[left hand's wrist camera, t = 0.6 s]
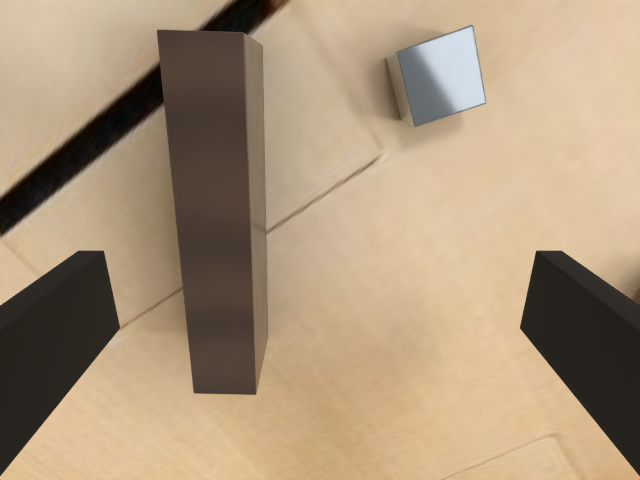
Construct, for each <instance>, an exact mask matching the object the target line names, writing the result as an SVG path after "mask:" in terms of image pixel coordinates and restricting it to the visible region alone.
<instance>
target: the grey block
mask: <svg viewBox="0 0 640 480" xmlns="http://www.w3.org/2000/svg"><path fill="white" fill-rule="evenodd" d="M385 58H386V62H387V66H388V70H389V74H390V78H391V82H392V86H393V90H394V94H395V98H396V102H397V106H398V110H399V114H400V118H401V121H403V122H405V123H407V124H409V125H412V126H414V127H417V126H420V125H423V124H426V123H429V122H432V121H435V120H438V119H441V118H444V117H447V116H450V115H453V114H456V113H459V112H462V111H465V110H468V109H471V108H474V107H477V106H480V105H483V104H486V98H485V92H484V87H483V81H482V75H481V69H480V63H479V58H478V52H477V46H476V40H475V35H474V29H473V25H470V26H467V27H465V28H462V29H459V30H456V31H453V32H451V33H448V34H445V35H442V36H439V37H436V38H434V39H431V40H428V41H425V42H422V43H420V44H417V45H414V46H411V47H408V48H405V49H403V50H400V51H397V52H395V53H392V54H390V55H388V56H386V57H385Z"/></svg>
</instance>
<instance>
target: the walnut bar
mask: <svg viewBox="0 0 640 480" xmlns="http://www.w3.org/2000/svg"><path fill="white" fill-rule="evenodd" d="M157 36H158V46H159V56H160V66H161V76H162V86H163V95H164V105H165V115H166V125H167V135H168V145H169V154H170V164H171V174H172V184H173V194H174V204H175V213H176V223H177V233H178V243H179V253H180V262H181V272H182V282H183V292H184V302H185V312H186V321H187V331H188V341H189V351H190V361H191V371H192V380H193V390H194V393H202V394H245V395H256V393H257V388H258V383H259V378H260V373H261V368H262V363H263V358H264V354H265V349H266V344H267V339H268V314H267V260H266V205H265V151H264V97H263V46H262V45H261V44H260V43H258V42H257V41H255V40H254V39H252V38H251V37H249V36H248V35H246V34H245V33H242V32H212V31H183V30H157Z"/></svg>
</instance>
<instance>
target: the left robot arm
mask: <svg viewBox="0 0 640 480" xmlns="http://www.w3.org/2000/svg"><path fill="white" fill-rule="evenodd" d="M119 329H120V325H119V321H118V316H117V311H116V307H115V302H114V297H113V292H112V288H111V283H110V278H109V273H108V269H107V264H106V259H105V254H104V251H77V252H76V253H75V254H73V255H72V256H70V257H69V258H67V259H66V260H65V261H63V262H62V263H60V264H59V265H57V266H56V267H55V268H53V269H52V270H50V271H49V272H48V273H46V274H45V275H43V276H42V277H40V278H39V279H38V280H36V281H35V282H33V283H32V284H30V285H29V286H28V287H26V288H25V289H23V290H22V291H20V292H19V293H18V294H16V295H15V296H13V297H12V298H10V299H9V300H8V301H6V302H5V303H3V304H2V305H1V306H0V476H1V475H2V473H3V472H4V471H5V470H6V468H7V467H8V466H9V465H10V463H11V462H12V461H13V460H14V459H15V457H16V456H17V455H18V454H19V452H20V451H21V450H22V449H23V447H24V446H25V445H26V444H27V442H28V441H29V440H30V439H31V438H32V436H33V435H34V434H35V433H36V431H37V430H38V429H39V428H40V426H41V425H42V424H43V423H44V421H45V420H46V419H47V418H48V417H49V415H50V414H51V413H52V412H53V410H54V409H55V408H56V407H57V405H58V404H59V403H60V402H61V400H62V399H63V398H64V397H65V396H66V394H67V393H68V392H69V391H70V389H71V388H72V387H73V386H74V384H75V383H76V382H77V381H78V380H79V378H80V377H81V376H82V375H83V373H84V372H85V371H86V370H87V368H88V367H89V366H90V365H91V363H92V362H93V361H94V360H95V359H96V357H97V356H98V355H99V354H100V352H101V351H102V350H103V349H104V347H105V346H106V345H107V344H108V342H109V341H110V340H111V339H112V338H113V336H114V335H115V334H116V333H117V331H118V330H119ZM520 329H521V330H522V331H523V333H524V334H525V335H526V336H527V338H528V339H529V340H530V341H531V342H532V344H533V345H534V346H535V347H536V349H537V350H538V351H539V352H540V354H541V355H542V356H543V357H544V359H545V360H546V361H547V362H548V363H549V365H550V366H551V367H552V368H553V370H554V371H555V372H556V373H557V375H558V376H559V377H560V378H561V380H562V381H563V382H564V383H565V384H566V386H567V387H568V388H569V389H570V391H571V392H572V393H573V394H574V396H575V397H576V398H577V399H578V400H579V402H580V403H581V404H582V405H583V407H584V408H585V409H586V410H587V412H588V413H589V414H590V415H591V417H592V418H593V419H594V420H595V421H596V423H597V424H598V425H599V426H600V428H601V429H602V430H603V431H604V433H605V434H606V435H607V436H608V438H609V439H610V440H611V441H612V442H613V444H614V445H615V446H616V447H617V449H618V450H619V451H620V452H621V454H622V455H623V456H624V457H625V459H626V460H627V461H628V462H629V463H630V465H631V466H632V467H633V468H634V470H635V471H636V472H637V473H638V475H639V476H640V306H639V305H638V304H637V303H635V302H634V301H632V300H631V299H630V298H628V297H627V296H625V295H624V294H622V293H621V292H620V291H618V290H617V289H615V288H614V287H612V286H611V285H610V284H608V283H607V282H605V281H604V280H602V279H601V278H600V277H598V276H597V275H595V274H594V273H592V272H591V271H590V270H588V269H587V268H585V267H584V266H583V265H581V264H580V263H578V262H577V261H575V260H574V259H573V258H571V257H570V256H568V255H567V254H565V253H564V252H563V251H536V254H535V259H534V264H533V269H532V273H531V278H530V283H529V288H528V292H527V297H526V302H525V306H524V311H523V316H522V321H521V325H520Z"/></svg>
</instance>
